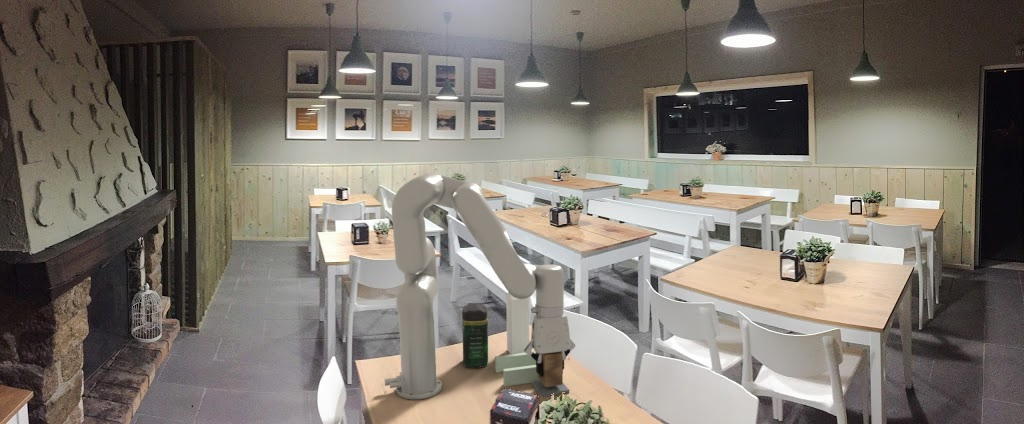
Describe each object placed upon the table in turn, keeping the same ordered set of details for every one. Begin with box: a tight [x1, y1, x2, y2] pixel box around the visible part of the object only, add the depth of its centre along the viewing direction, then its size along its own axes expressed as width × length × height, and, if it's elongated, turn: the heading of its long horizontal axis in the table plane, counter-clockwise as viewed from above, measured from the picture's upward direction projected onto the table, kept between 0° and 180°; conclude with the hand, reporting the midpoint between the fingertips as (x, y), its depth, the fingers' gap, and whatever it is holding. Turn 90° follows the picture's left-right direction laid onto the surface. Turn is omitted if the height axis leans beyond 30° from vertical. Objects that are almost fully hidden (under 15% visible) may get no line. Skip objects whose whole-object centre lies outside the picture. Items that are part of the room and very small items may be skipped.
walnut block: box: [538, 352, 564, 387], centre depth 150 cm, size 5×6×9 cm
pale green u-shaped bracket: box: [494, 350, 539, 387], centre depth 160 cm, size 17×11×4 cm, turn 106°
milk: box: [505, 291, 530, 355], centre depth 175 cm, size 6×6×22 cm
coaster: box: [531, 380, 570, 398], centre depth 151 cm, size 8×8×1 cm
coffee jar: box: [461, 302, 489, 369], centre depth 167 cm, size 10×8×19 cm
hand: (550, 372), depth 150 cm, fingers closed on walnut block, 5 cm apart
